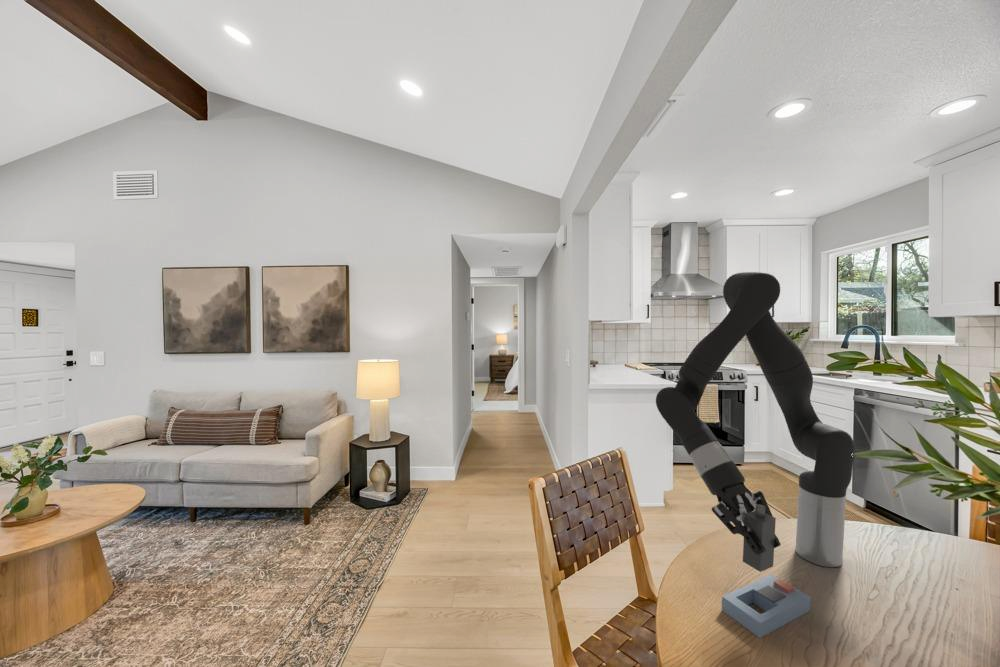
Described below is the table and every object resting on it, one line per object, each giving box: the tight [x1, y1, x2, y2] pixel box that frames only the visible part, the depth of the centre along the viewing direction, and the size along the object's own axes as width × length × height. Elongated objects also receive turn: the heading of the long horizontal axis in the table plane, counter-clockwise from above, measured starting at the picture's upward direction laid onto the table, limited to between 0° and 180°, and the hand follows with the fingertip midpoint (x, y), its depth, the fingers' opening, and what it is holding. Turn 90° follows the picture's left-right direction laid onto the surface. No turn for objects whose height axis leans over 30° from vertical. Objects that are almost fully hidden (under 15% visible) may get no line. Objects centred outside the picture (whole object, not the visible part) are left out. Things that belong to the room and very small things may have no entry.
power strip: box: [721, 573, 812, 639], centre depth 86 cm, size 16×8×4 cm, turn 115°
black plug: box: [742, 504, 777, 573], centre depth 84 cm, size 4×4×12 cm
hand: (768, 549), depth 82 cm, fingers closed on black plug, 4 cm apart
